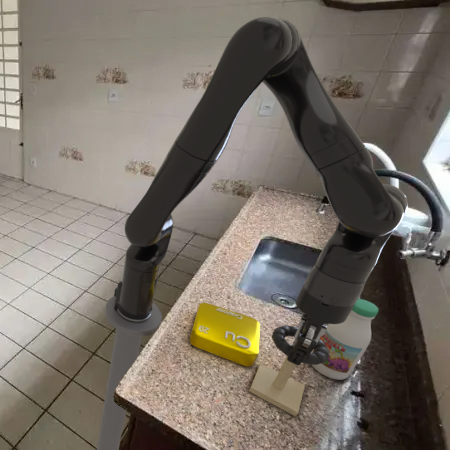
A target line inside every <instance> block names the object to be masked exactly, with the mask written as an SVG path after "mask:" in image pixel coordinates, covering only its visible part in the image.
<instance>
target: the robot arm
mask: <svg viewBox="0 0 450 450" xmlns="http://www.w3.org/2000/svg"><path fill="white" fill-rule="evenodd" d="M262 83H263V84H264V85H265V86H266V88H267V89H268V90H269V91H270V92H271V93H272V95H273V96H274V97H275V99H276V100H277V102H278V104H279V105H280V107H281V109H282V112H283V113H284V115H285V118H286V121H287V124H288V127H289V129H290V130H289V131H290V132H291V134H292V138H293V139H294V142H295V144H296V145H297V147H298V149H299V151H300V153H301V154H302V156H303V157H304V159H305V160H306V162H307V163H308V166H309V167H310V168H311V169H312V171H313V173H314V174H315V175H316V177H317V178H318V179H319V181H320V182H321V185H322V188H323V192H324V194H325V196H326V197H327V200H328V203H329V205H330V207H331V210H332V212H333V213H334V215H335V217H336V219H337V220H338V223H337V226H336V227H335V229H334V232H333V233H332V235H331V236H330V237H329V238H328V240H327V241H326V242H325V244H324V245H323V247H322V248H321V252H320V253H319V255H318V257H317V260H316V262H315V264H314V265H313V267H312V268H311V269H310V270H309V272H308V274H307V277H306V279H305V280H304V283H303V284H302V287H301V289H300V291H299V293H298V295H297V297H296V300H295V304H296V306H297V309H298V310H300V311H301V316H300V319H299V321H298V324H297V326H296V327H297V331H296V333H295V336H294V337H293V338H294V341H293V343H292V344H291V346H293V347H292V350H291V352H290V354H289V356H288V358H287V360H288V361H289V362H291V363H293V364H295V365H296V366H301V365H302V364H303V363H302V361H303V359H304V357H308V356H309V355H310V353H312V352H313V350H314V348H315V347H316V346H317V343H318V341H319V339H320V337H321V336H323V335H324V334H325V332H326V330H327V325H328V324H340V323H343V322H344V321H345V320H346V319H347V317H348V315H349V314H350V312H351V310H352V308H353V307H354V305H355V303H356V301H357V300H358V299H360V296H361V295H362V293H363V291H364V287H365V284H366V282H367V281H368V278H369V277H370V276H371V274H372V272H373V270H374V268H375V266H376V264H377V263H378V259H379V257H380V254H381V253H382V250H383V248H384V246H385V245H386V243H387V241H388V240H389V238H390V237H391V235H392V234H393V233H394V232H395V229H397V227H398V226H399V225H400V224H401V222H402V220H403V218H404V217H405V215H406V214H407V210H408V208H409V207H408V206H409V204H408V203H409V201H408V198H407V196H406V194H405V193H404V192H403V191H402V190H401V189H400V188H399V187H398V186H395V185H392V184H389V183H383V182H382V181H381V179H380V178H379V176H378V175H377V173H376V171H375V170H374V160H373V157H372V155H371V153H370V150H369V149H368V147H366V145H365V143H364V142H363V141H362V139H361V138H360V136H359V135H358V133H357V132H356V130H355V129H354V128H353V127H352V125H351V124H350V122H349V121H348V119H347V118H346V117H345V115H344V113H343V112H342V111H341V110H340V109H339V107H338V106H337V104H336V102H335V101H334V100H333V99H332V97H331V95H330V94H329V93H328V91H327V89H326V87H325V86H324V85H323V83H322V81H321V79H320V77H319V76H318V73H317V71H316V69H315V68H314V65H313V63H312V61H311V59H310V56H309V54H308V51H307V49H306V46H305V44H304V42H303V39H302V37H301V34H300V31H299V29H298V27H297V25H295V24H294V23H293V22H291V21H290V20H289V19H286V18H281V17H273V16H261V17H256V18H253V19H250V20H249V21H247V22H246V23H244V24H242V26H240V27H239V28H238V29H237V30H236V31H235V32H234V33H233V34H232V36H231V37H230V39H229V41H228V42H227V44H226V46H225V48H224V50H223V52H222V54H221V56H220V58H219V61H218V63H217V65H216V68H215V69H214V72H213V74H212V76H211V78H210V80H209V82H208V83H207V86H206V88H205V90H204V92H203V94H202V96H201V98H200V100H199V101H198V103H197V104H196V106H195V107H194V109H193V110H192V112H191V114H189V115H190V116H189V117H188V119H187V120H186V122H185V124H183V127H182V129H181V130H180V132H179V133H178V135H177V137H176V138H175V140H174V142H173V143H172V145H171V147H170V149H169V150H168V152H167V153H166V156H165V158H164V160H163V161H162V163H161V165H160V166H159V168H158V170H157V171H156V173H155V176H154V177H153V179H152V181H151V183H150V185H149V187H148V189H147V191H146V192H145V194H144V195H143V196H142V197H141V199H140V201H139V202H138V203H137V204H136V206H135V207H134V209H133V210H132V211H131V213H130V214H129V215H128V217H127V218H126V220H125V223H124V236H125V237H126V239H127V241H128V243H130V245H129V246H128V247H127V249H126V251H125V255H124V260H123V262H124V263H123V269H122V275H121V280H120V281H119V282H118V283H117V287H116V288H115V289H114V292H113V293H114V294H113V297H114V296H115V297H116V300H115V306H114V310H116V311H117V312H118V314H119V315H120V316H121V317H122V318H123V319H125V320H127V321H130V322H134V323H142V322H145V321H147V320H148V319H149V318H150V314H151V310H152V304H153V303H154V299H155V294H156V289H157V284H158V281H159V276H160V271H161V267H162V263H163V260H164V259H165V258H166V255H167V252H168V250H169V245H170V243H171V239H172V234H173V230H174V218H173V215H172V213H173V212H174V211H175V209H176V208H177V207H178V206H179V205H180V204H181V203H182V202H183V201H184V200H185V199H186V198H187V197H188V196H190V194H191V193H193V191H194V190H195V189H196V188H197V187H198V186H199V185H200V184H201V183H202V182H203V181H204V179H205V178H206V177H207V176H208V175H209V173H210V172H211V171H212V169H213V168H214V166H215V165H216V163H217V162H218V160H219V159H220V157H221V156H222V155H223V153H224V151H225V149H226V147H227V144H228V143H229V139H230V137H231V134H232V132H233V129H234V125H235V123H236V120H237V118H238V116H239V114H240V112H242V111H241V110H242V109H243V108H244V106H245V105H246V104H247V102H248V101H249V100H250V98H251V97H252V96H253V95H254V92H256V90H257V89H258V88H259V87H260V85H262ZM314 338H315V339H314Z"/></svg>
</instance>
